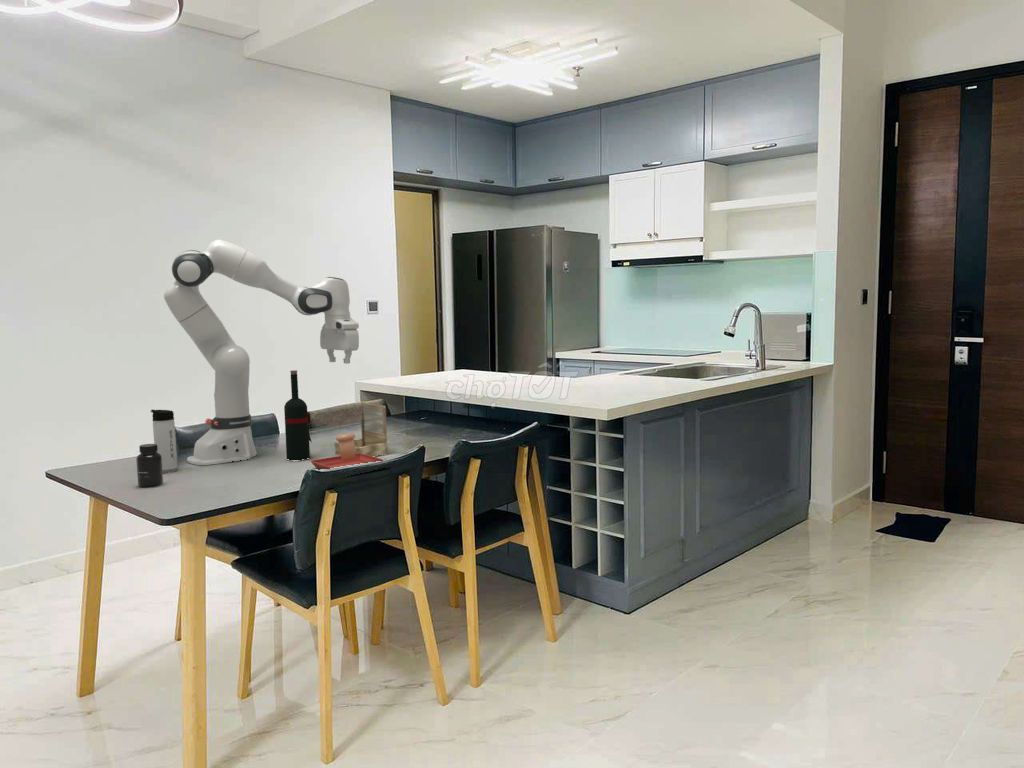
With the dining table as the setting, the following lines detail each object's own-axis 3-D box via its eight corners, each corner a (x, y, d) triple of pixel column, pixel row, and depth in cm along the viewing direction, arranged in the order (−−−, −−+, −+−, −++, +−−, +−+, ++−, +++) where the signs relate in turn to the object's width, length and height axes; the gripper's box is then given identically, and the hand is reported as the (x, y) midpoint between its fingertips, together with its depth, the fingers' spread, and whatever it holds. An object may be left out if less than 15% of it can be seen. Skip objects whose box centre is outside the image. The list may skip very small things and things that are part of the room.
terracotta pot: (348, 462, 238) (344, 436, 238) (335, 461, 242) (332, 436, 241) (361, 457, 243) (358, 433, 242) (349, 457, 247) (346, 432, 246)
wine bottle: (319, 455, 263) (315, 369, 260) (299, 461, 254) (294, 372, 251) (302, 454, 267) (297, 368, 263) (281, 459, 258) (276, 371, 254)
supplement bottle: (137, 488, 222) (134, 448, 221) (138, 483, 229) (135, 444, 227) (163, 486, 225) (160, 445, 224) (163, 481, 231) (160, 442, 230)
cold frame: (357, 460, 255) (355, 410, 253) (335, 454, 265) (333, 406, 263) (387, 454, 264) (385, 406, 262) (364, 449, 274) (362, 402, 272)
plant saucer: (360, 461, 256) (359, 452, 255) (388, 470, 242) (388, 460, 242) (309, 470, 244) (309, 460, 243) (337, 480, 230) (336, 469, 230)
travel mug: (155, 470, 246) (150, 408, 244) (177, 468, 249) (173, 407, 246) (154, 474, 240) (150, 411, 238) (177, 472, 243) (173, 409, 240)
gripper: (314, 323, 274) (316, 361, 276) (345, 324, 260) (347, 365, 261) (330, 322, 279) (332, 360, 280) (361, 323, 264) (363, 363, 266)
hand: (339, 362), depth 271 cm, fingers open, 8 cm apart
